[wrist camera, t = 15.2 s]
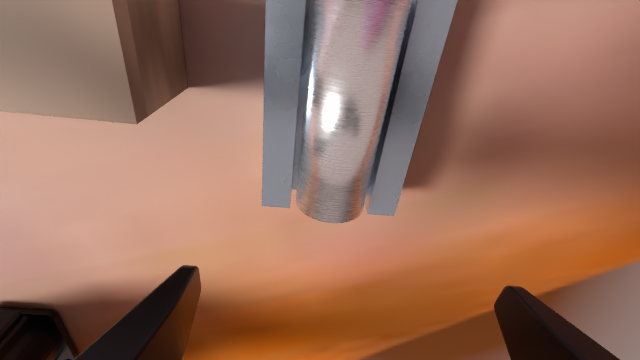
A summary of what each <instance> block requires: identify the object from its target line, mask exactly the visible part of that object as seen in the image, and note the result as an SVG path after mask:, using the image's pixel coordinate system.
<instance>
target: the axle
mask: <svg viewBox="0 0 640 360" xmlns="http://www.w3.org/2000/svg"><path fill="white" fill-rule="evenodd" d="M411 4H412V1H411V0H315V8H314V19H313V29H312V39H311V50H310V60H309V70H308V81H307V91H306V101H305V111H304V122H303V132H302V142H301V153H300V163H299V173H298V183H297V194H296V203H297V205H298V207H299V209H300V210H301V211H302V212H303V213H305V214H306V215H308V216H309V217H311V218H313V219H316V220H319V221H322V222H328V223H344V222H348V221H351V220H354V219H356V218H357V217H358V216H359V215H360V214H361V213H362V210H363V206H364V202H365V198H366V193H367V189H368V185H369V181H370V177H371V172H372V168H373V164H374V160H375V155H376V151H377V147H378V143H379V139H380V134H381V130H382V126H383V122H384V117H385V113H386V109H387V105H388V101H389V96H390V92H391V88H392V84H393V79H394V75H395V71H396V67H397V63H398V58H399V54H400V50H401V46H402V42H403V37H404V33H405V29H406V25H407V20H408V16H409V12H410V8H411Z"/></svg>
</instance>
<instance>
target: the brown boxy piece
mask: <svg viewBox="0 0 640 360" xmlns="http://www.w3.org/2000/svg"><path fill="white" fill-rule="evenodd" d="M187 88H188V85H187V76H186V66H185V57H184V47H183V38H182V29H181V19H180V10H179V1H178V0H0V111H2V112H13V113H24V114H34V115H45V116H55V117H66V118H76V119H87V120H97V121H108V122H119V123H129V124H138V123H139V122H141V121H142V120H144V119H145V118H146V117H148V116H149V115H151V114H152V113H153V112H155V111H156V110H158V109H159V108H160V107H162V106H163V105H165V104H166V103H167V102H169V101H170V100H172V99H173V98H174V97H176V96H177V95H179V94H180V93H181V92H183V91H184V90H186V89H187Z"/></svg>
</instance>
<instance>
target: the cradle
mask: <svg viewBox="0 0 640 360" xmlns="http://www.w3.org/2000/svg"><path fill="white" fill-rule="evenodd" d="M411 1H412V4H411V8H410V12H409V16H408V20H407V25H406V29H405V33H404V37H403V42H402V46H401V50H400V54H399V58H398V63H397V67H396V71H395V75H394V79H393V84H392V88H391V92H390V96H389V101H388V105H387V109H386V113H385V117H384V122H383V126H382V130H381V134H380V139H379V143H378V147H377V151H376V155H375V160H374V164H373V168H372V172H371V177H370V181H369V185H368V189H367V193H366V198H365V202H364V203H365V207H366V210H367V214H374V215H387V216H394V214H395V211H396V207H397V204H398V200H399V197H400V194H401V190H402V187H403V184H404V180H405V177H406V173H407V170H408V167H409V163H410V160H411V156H412V153H413V150H414V146H415V143H416V140H417V136H418V133H419V129H420V126H421V123H422V119H423V116H424V113H425V109H426V106H427V102H428V99H429V96H430V92H431V89H432V85H433V82H434V79H435V75H436V72H437V69H438V65H439V62H440V58H441V55H442V52H443V48H444V45H445V41H446V38H447V35H448V31H449V28H450V25H451V21H452V18H453V14H454V11H455V8H456V4H457V1H458V0H411ZM314 8H315V0H266V15H265V68H264V120H263V173H262V206H270V207H283V208H290V201H291V192H292V189H297V183H298V173H299V163H300V153H301V142H302V132H303V122H304V111H305V101H306V91H307V81H308V70H309V60H310V50H311V39H312V29H313V19H314Z"/></svg>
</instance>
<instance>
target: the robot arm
mask: <svg viewBox="0 0 640 360" xmlns="http://www.w3.org/2000/svg"><path fill="white" fill-rule="evenodd" d="M200 292H201V282H200V274H199V268H198V267H197V266H189V265H183V266H181V267H180V268H179V269H177V270H176V271H175V272H174V273H173V274H172V275H171V276H169V277H168V278H167V279H166V280H165V281H164V282H163V283H161V284H160V285H159V286H158V287H157V288H156V289H154V290H153V291H152V292H151V293H150V294H149V295H148V296H146V297H145V298H144V299H143V300H142V301H141V302H139V303H138V304H137V305H136V306H135V307H134V308H133V309H131V310H130V311H129V312H128V313H127V314H126V315H125V316H123V317H122V318H121V319H120V320H119V321H118V322H116V323H115V324H114V325H113V326H112V327H111V328H110V329H108V330H107V331H106V332H105V333H104V334H103V335H101V336H100V337H99V338H98V339H97V340H96V341H95V342H93V343H92V344H91V345H90V346H89V347H88V348H87V349H85V350H84V351H83V352H82V353H81V354H80V355H78V354H77V352H76V350H75V348H74V346H73V344H72V342H71V340H70V338H69V336H68V334H67V332H66V330H65V328H64V326H63V324H62V322H61V320H60V319H59V317H58V315H57V313H55V312H54V311H51V310H35V309H14V308H0V360H182V357H183V354H184V351H185V348H186V345H187V341H188V338H189V334H190V330H191V327H192V323H193V319H194V315H195V312H196V308H197V304H198V300H199V297H200ZM494 310H495V313H496V316H497V319H498V323H499V325H500V329H501V331H502V334H503V338H504V340H505V344H506V347H507V350H508V352H509V356H510V358H511V360H620V359H618V358H617V357H616V356H614V355H613V354H612V353H610V352H609V351H608V350H606V349H605V348H603V347H602V346H601V345H599V344H598V343H597V342H595V341H594V340H593V339H591V338H590V337H589V336H587V335H586V334H585V333H583V332H582V331H580V330H579V329H578V328H576V327H575V326H574V325H572V324H571V323H569V322H568V321H567V320H566V319H564V318H563V317H562V316H560V315H559V314H558V313H556V312H555V311H553V310H552V309H551V308H549V307H548V306H546V305H545V304H544V303H543V302H541V301H540V300H539V299H537V298H536V297H535V296H533V295H532V294H531V293H529V292H528V291H527V290H525V289H524V288H522V287H519V286H506V287H504V289H503V290H502V292H501V294H500V295H499V297H498V298H497V300H496V302H495V304H494Z"/></svg>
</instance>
